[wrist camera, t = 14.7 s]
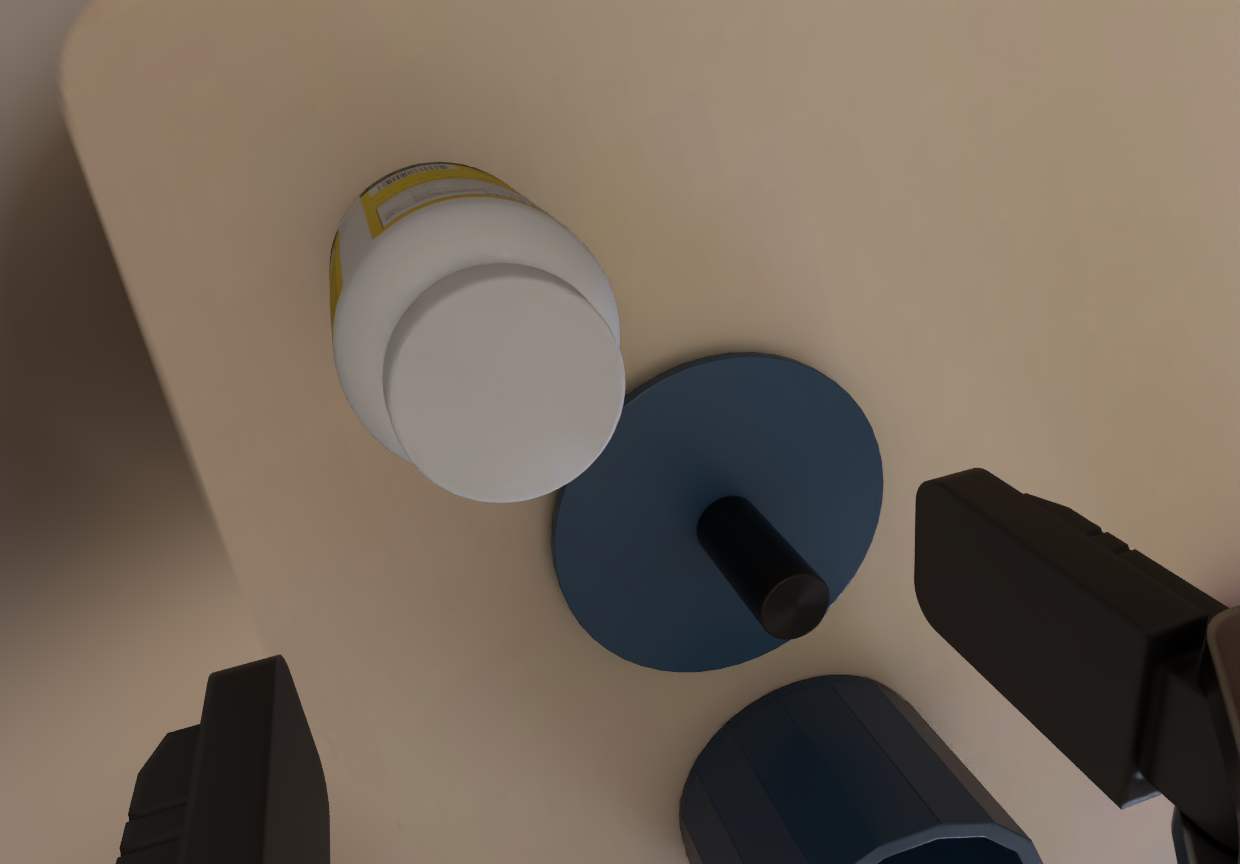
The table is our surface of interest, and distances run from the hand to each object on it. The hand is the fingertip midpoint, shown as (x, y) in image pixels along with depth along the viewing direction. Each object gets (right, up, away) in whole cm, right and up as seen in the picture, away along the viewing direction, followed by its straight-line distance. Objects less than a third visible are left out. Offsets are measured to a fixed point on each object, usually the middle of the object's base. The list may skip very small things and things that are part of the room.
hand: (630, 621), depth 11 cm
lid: (+4, -1, +23) cm, 23 cm away
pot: (+8, -14, +30) cm, 34 cm away
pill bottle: (-6, +7, +17) cm, 19 cm away
